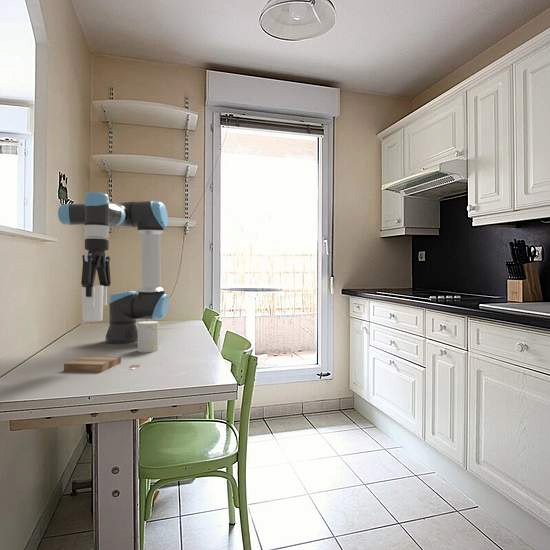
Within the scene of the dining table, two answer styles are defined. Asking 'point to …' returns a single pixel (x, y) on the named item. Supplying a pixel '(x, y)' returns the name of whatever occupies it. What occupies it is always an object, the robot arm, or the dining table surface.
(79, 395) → the dining table surface
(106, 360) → the base brick
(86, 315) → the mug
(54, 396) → the dining table surface
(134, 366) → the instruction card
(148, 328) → the cup
